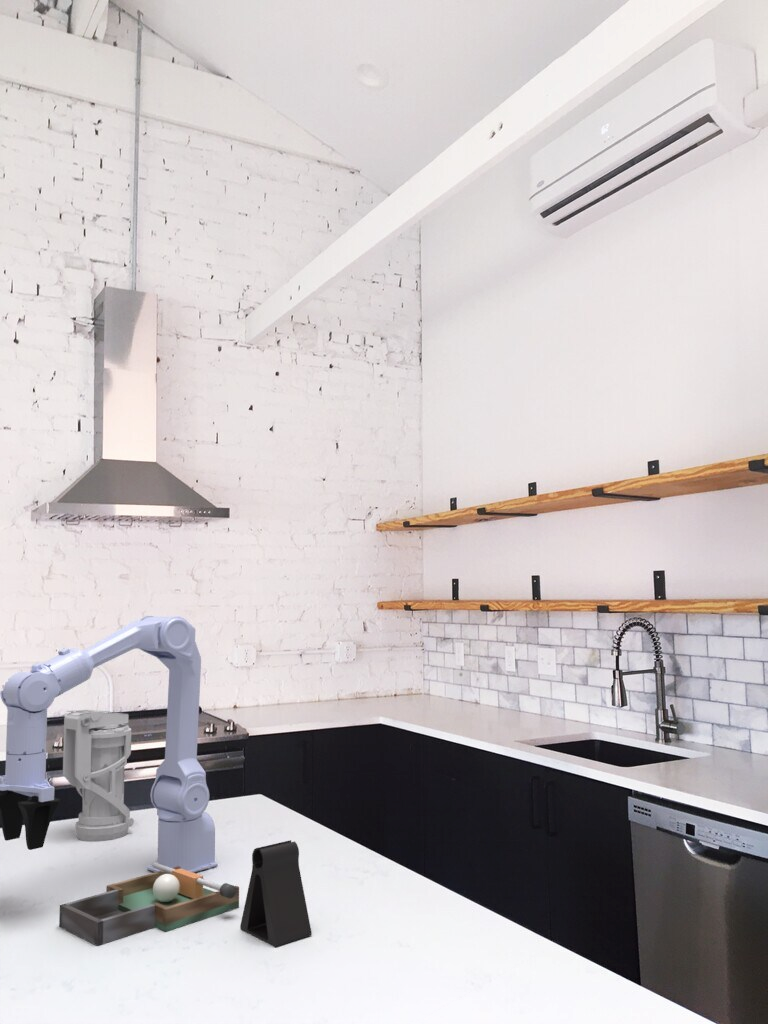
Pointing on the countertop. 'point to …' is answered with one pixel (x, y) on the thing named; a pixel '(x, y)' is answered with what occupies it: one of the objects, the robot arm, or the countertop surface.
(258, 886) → the phone stand
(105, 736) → the lantern
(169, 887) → the ball
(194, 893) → the kicker
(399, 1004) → the countertop surface
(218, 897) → the pitch
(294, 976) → the countertop surface
